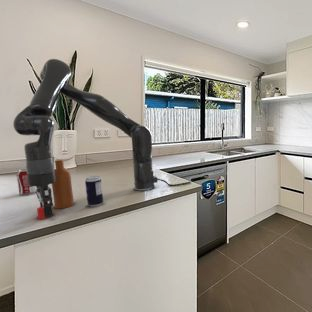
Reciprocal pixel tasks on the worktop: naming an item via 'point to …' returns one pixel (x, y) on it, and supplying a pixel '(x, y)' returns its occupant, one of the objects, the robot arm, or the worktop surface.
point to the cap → (40, 213)
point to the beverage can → (94, 190)
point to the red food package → (24, 183)
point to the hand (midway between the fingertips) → (46, 213)
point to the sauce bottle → (62, 186)
